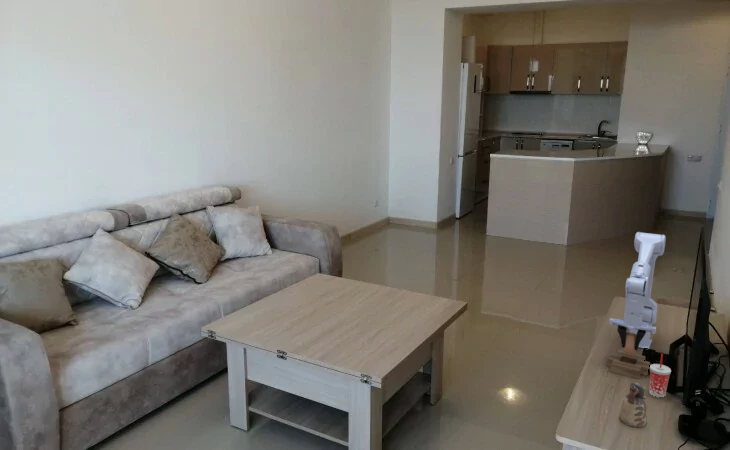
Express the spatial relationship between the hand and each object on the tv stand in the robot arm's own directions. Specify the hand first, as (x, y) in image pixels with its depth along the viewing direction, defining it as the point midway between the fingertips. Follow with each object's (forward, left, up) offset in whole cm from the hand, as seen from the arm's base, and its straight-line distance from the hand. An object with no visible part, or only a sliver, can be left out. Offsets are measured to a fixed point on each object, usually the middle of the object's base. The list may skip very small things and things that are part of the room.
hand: (629, 348), depth 197 cm
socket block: (0, 0, -8) cm, 8 cm away
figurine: (+35, +7, -8) cm, 37 cm away
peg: (0, 0, -2) cm, 2 cm away
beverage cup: (+14, +11, -8) cm, 19 cm away
